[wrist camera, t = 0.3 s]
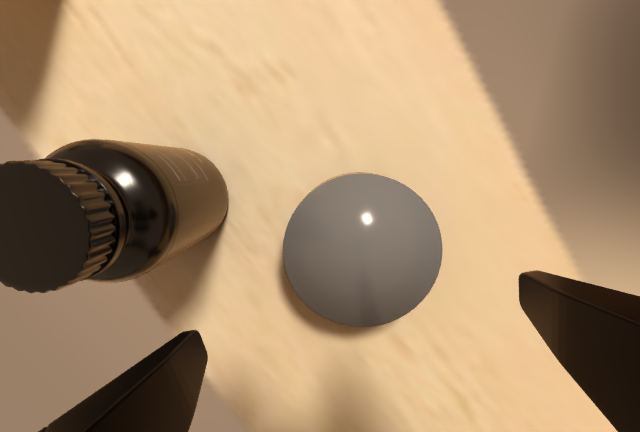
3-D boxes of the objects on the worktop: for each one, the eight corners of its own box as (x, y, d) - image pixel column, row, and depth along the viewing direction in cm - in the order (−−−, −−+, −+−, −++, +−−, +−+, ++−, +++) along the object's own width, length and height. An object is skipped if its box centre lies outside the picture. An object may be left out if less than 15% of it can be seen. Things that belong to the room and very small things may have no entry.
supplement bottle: (206, 257, 23) (73, 355, 11) (125, 212, 23) (-97, 264, 11) (248, 177, 22) (148, 196, 10) (163, 129, 22) (-41, 89, 10)
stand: (433, 298, 23) (447, 318, 20) (300, 312, 24) (295, 334, 21) (422, 163, 21) (435, 163, 18) (279, 182, 22) (271, 185, 19)
